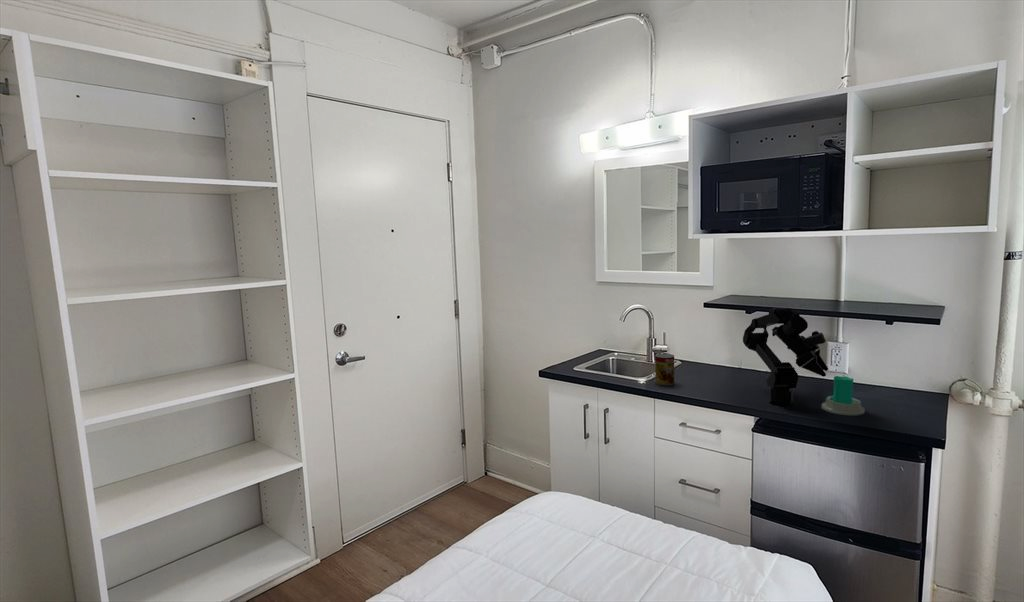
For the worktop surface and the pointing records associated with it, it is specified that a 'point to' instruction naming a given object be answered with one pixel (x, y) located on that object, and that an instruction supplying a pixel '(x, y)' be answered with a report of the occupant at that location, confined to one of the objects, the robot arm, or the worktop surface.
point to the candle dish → (843, 407)
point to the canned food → (664, 369)
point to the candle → (843, 389)
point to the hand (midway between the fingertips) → (826, 372)
